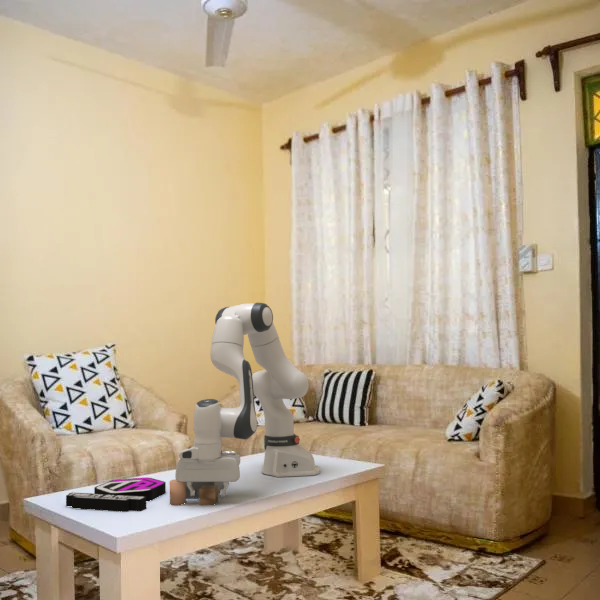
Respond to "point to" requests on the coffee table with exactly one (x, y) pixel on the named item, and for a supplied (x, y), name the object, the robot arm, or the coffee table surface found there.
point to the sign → (119, 495)
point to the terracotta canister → (177, 492)
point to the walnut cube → (208, 495)
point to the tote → (199, 484)
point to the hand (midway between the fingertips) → (208, 495)
